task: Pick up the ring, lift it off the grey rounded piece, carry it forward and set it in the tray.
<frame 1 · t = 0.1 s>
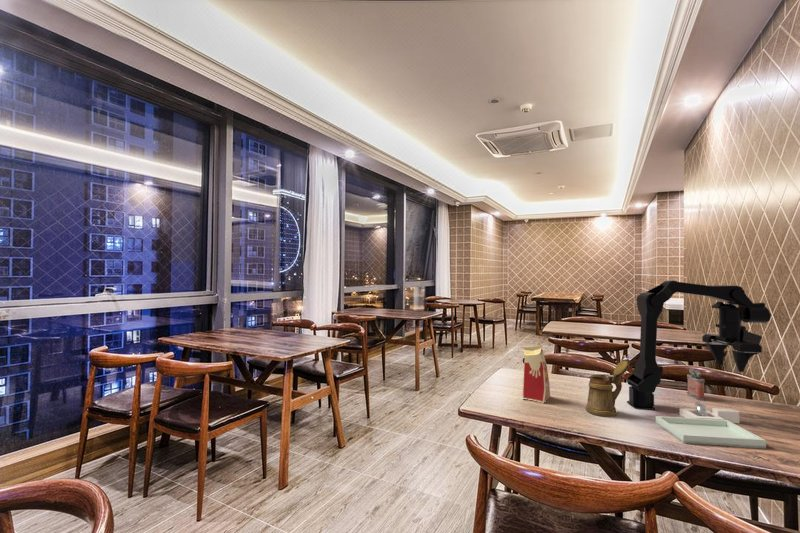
hand: (730, 368, 124), 15 cm above the table, tool pointing down, fingers open, 9 cm apart
grey rounded piece: (701, 419, 116), on the table
wooden mug: (607, 413, 122), on the table
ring: (701, 419, 116), on the table
tray: (706, 434, 105), on the table
lighter: (695, 397, 138), on the table
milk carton: (534, 398, 135), on the table
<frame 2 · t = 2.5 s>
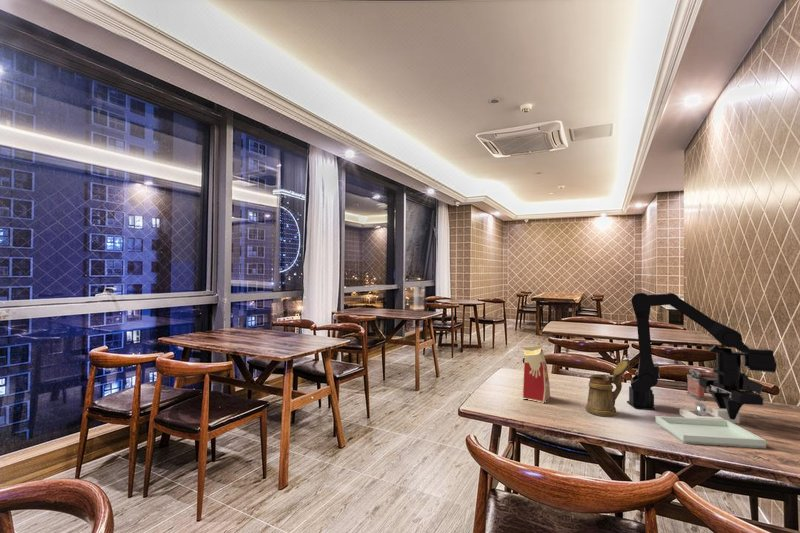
hand: (729, 417, 115), 1 cm above the table, tool pointing down, fingers closed on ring, 2 cm apart
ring: (701, 419, 116), on the table, touching gripper
everything else where it was.
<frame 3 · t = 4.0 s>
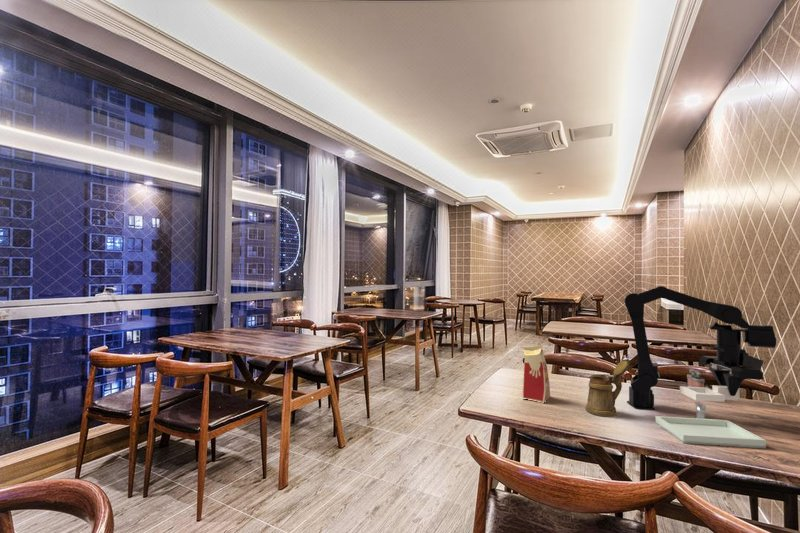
hand: (729, 394, 115), 9 cm above the table, tool pointing down, fingers closed on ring, 2 cm apart
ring: (701, 396, 116), point 7 cm above the table, touching gripper
everything else where it was.
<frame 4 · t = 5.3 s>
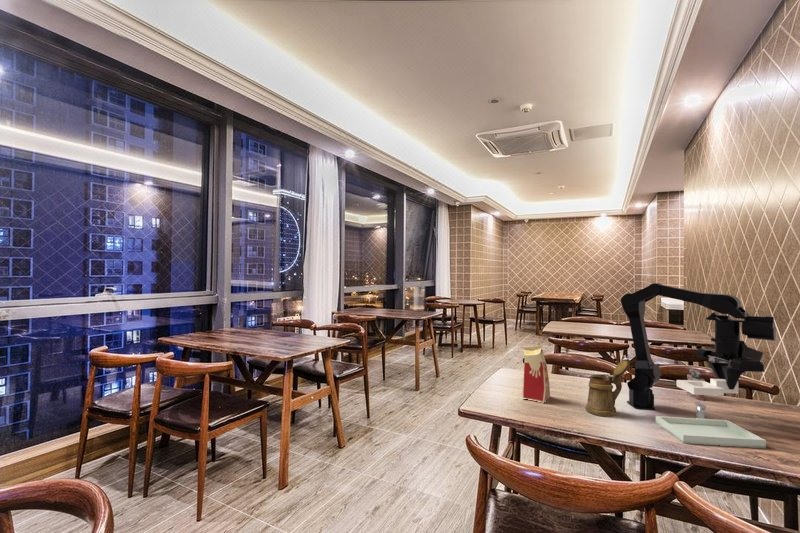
hand: (727, 387, 110), 12 cm above the table, tool pointing down, fingers closed on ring, 2 cm apart
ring: (699, 390, 111), point 11 cm above the table, touching gripper
everything else where it was.
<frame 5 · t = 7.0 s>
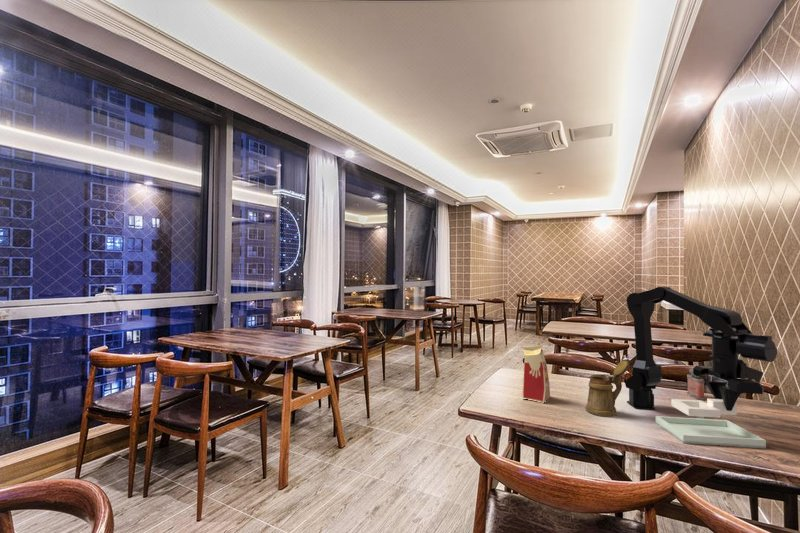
hand: (725, 408, 104), 8 cm above the table, tool pointing down, fingers closed on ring, 2 cm apart
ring: (694, 411, 106), point 7 cm above the table, touching gripper
everything else where it was.
when the fingers open (3 cm above the table, at t = 8.2 s): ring drops 1 cm, resting on tray.
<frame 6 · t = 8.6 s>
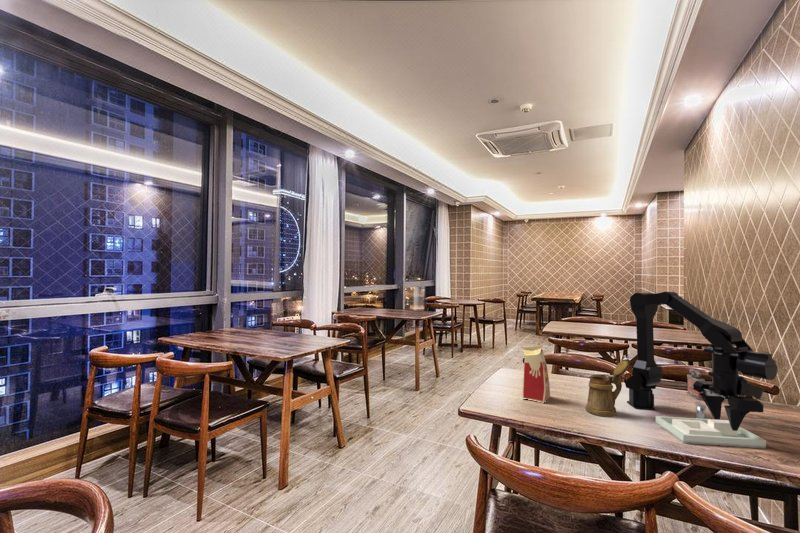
hand: (725, 425, 104), 3 cm above the table, tool pointing down, fingers open, 6 cm apart
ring: (695, 432, 105), point 1 cm above the table, touching tray
everything else where it was.
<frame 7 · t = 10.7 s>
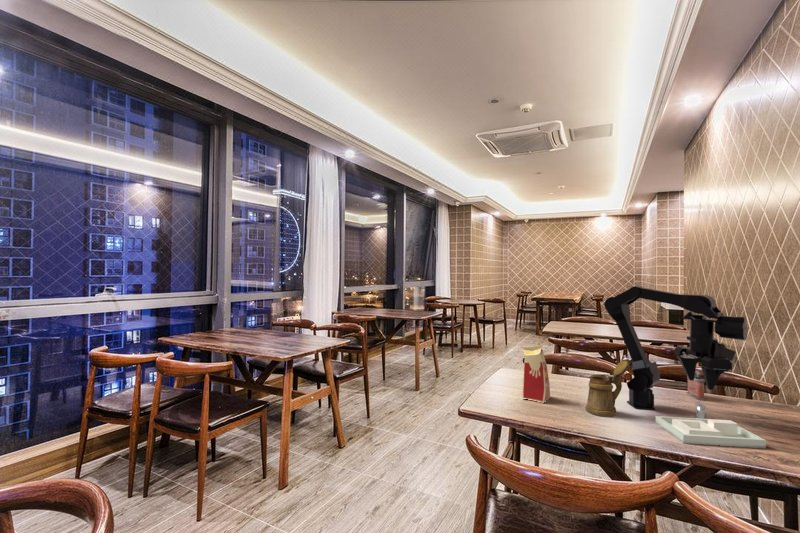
hand: (700, 384, 115), 12 cm above the table, tool pointing down, fingers open, 9 cm apart
nothing on the table moved.
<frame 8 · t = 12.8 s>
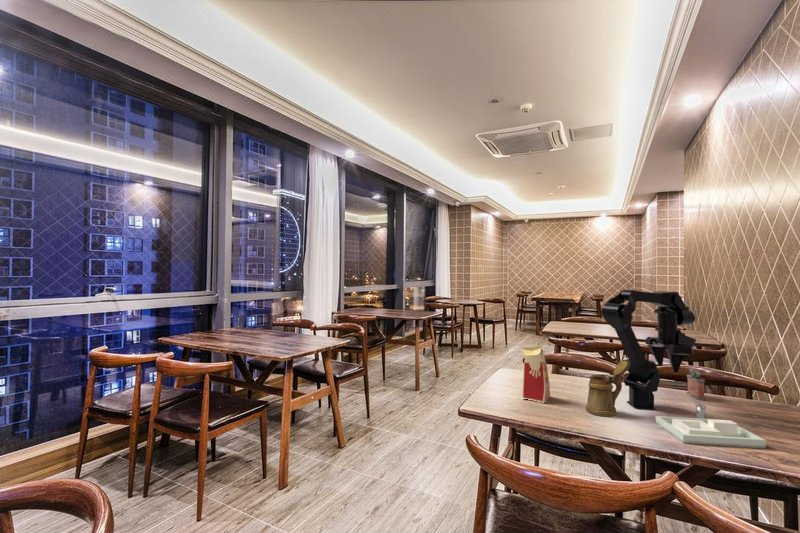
hand: (667, 368, 132), 12 cm above the table, tool pointing down, fingers open, 9 cm apart
nothing on the table moved.
at the end: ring inside the target area on the tray (0.2 cm from its centre), point 0.6 cm above the tray's base; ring tilted 0°; the gripper is holding nothing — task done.
